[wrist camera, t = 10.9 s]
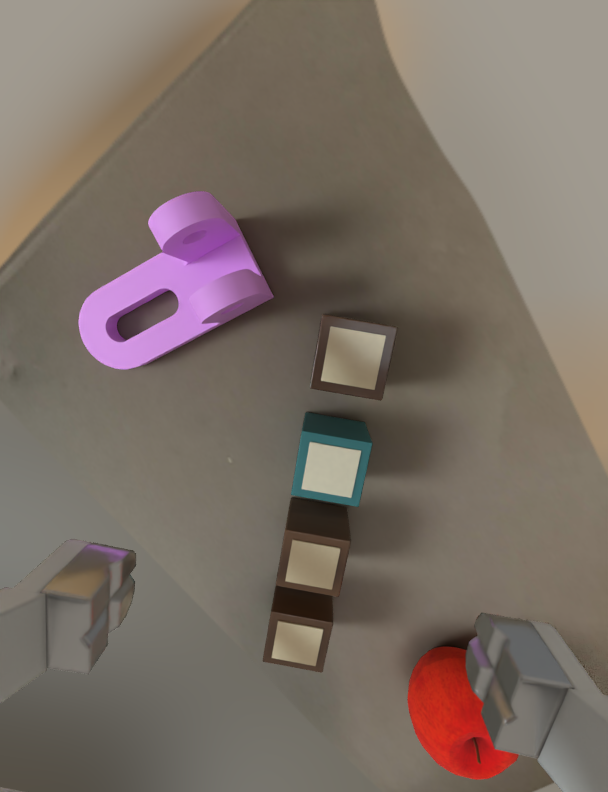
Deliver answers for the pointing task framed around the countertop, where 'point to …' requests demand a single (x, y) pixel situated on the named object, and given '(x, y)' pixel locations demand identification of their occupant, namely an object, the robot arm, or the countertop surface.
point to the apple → (452, 716)
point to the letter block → (332, 459)
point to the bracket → (177, 284)
